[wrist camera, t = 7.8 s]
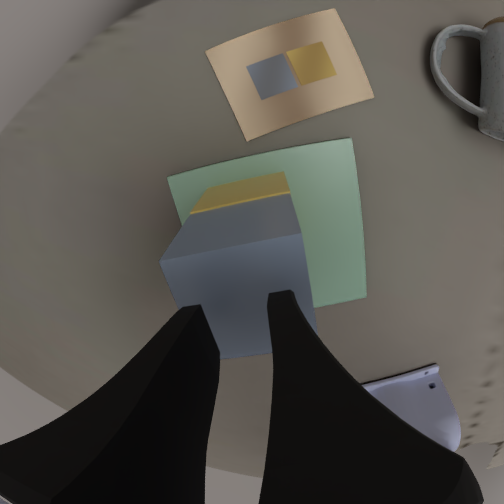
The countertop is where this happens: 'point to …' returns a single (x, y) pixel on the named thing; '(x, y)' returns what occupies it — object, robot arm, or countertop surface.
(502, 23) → the ceramic mug
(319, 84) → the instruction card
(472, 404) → the countertop surface
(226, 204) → the yellow brick
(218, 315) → the blue brick
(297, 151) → the baseplate
